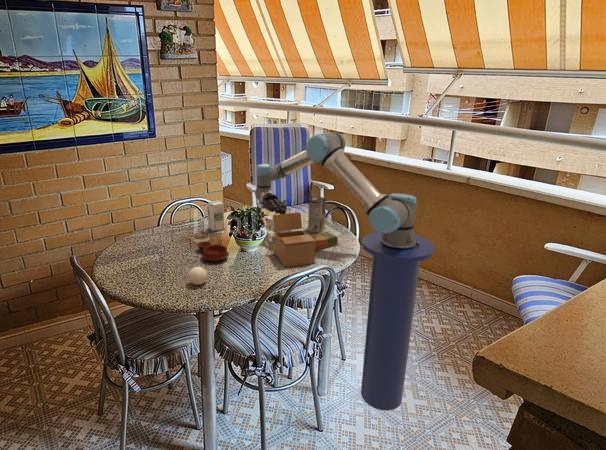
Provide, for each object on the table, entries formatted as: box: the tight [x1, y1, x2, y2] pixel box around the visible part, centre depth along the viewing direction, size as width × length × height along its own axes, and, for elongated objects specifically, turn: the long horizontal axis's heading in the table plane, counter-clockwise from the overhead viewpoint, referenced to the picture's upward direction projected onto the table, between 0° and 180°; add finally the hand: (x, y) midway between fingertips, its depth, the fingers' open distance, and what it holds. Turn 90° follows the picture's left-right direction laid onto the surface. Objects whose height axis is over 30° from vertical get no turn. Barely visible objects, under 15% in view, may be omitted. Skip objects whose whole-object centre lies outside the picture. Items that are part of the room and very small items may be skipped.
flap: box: [272, 212, 303, 233], centre depth 180 cm, size 7×13×1 cm
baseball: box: [188, 266, 209, 286], centre depth 155 cm, size 7×7×7 cm
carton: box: [310, 231, 339, 251], centre depth 189 cm, size 8×16×4 cm, turn 121°
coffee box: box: [307, 195, 327, 234], centre depth 207 cm, size 9×6×16 cm
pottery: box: [196, 241, 230, 263], centre depth 180 cm, size 12×20×4 cm, turn 32°
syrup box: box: [207, 200, 225, 232], centre depth 210 cm, size 6×6×14 cm
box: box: [273, 229, 316, 268], centre depth 175 cm, size 15×13×10 cm
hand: (284, 213), depth 183 cm, fingers closed
